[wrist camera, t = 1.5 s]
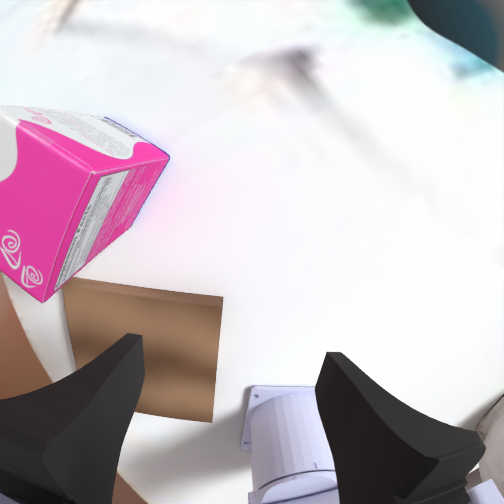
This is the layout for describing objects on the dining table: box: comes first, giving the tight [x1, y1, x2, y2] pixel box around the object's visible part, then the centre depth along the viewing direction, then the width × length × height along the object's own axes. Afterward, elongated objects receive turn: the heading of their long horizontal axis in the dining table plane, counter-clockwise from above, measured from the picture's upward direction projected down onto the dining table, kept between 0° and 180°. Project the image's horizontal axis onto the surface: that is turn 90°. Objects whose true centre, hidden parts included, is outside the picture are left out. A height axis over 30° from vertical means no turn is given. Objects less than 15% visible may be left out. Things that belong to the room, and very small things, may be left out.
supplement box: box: [0, 105, 170, 303], centre depth 13 cm, size 6×6×11 cm
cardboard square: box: [62, 277, 223, 423], centre depth 23 cm, size 12×12×2 cm
